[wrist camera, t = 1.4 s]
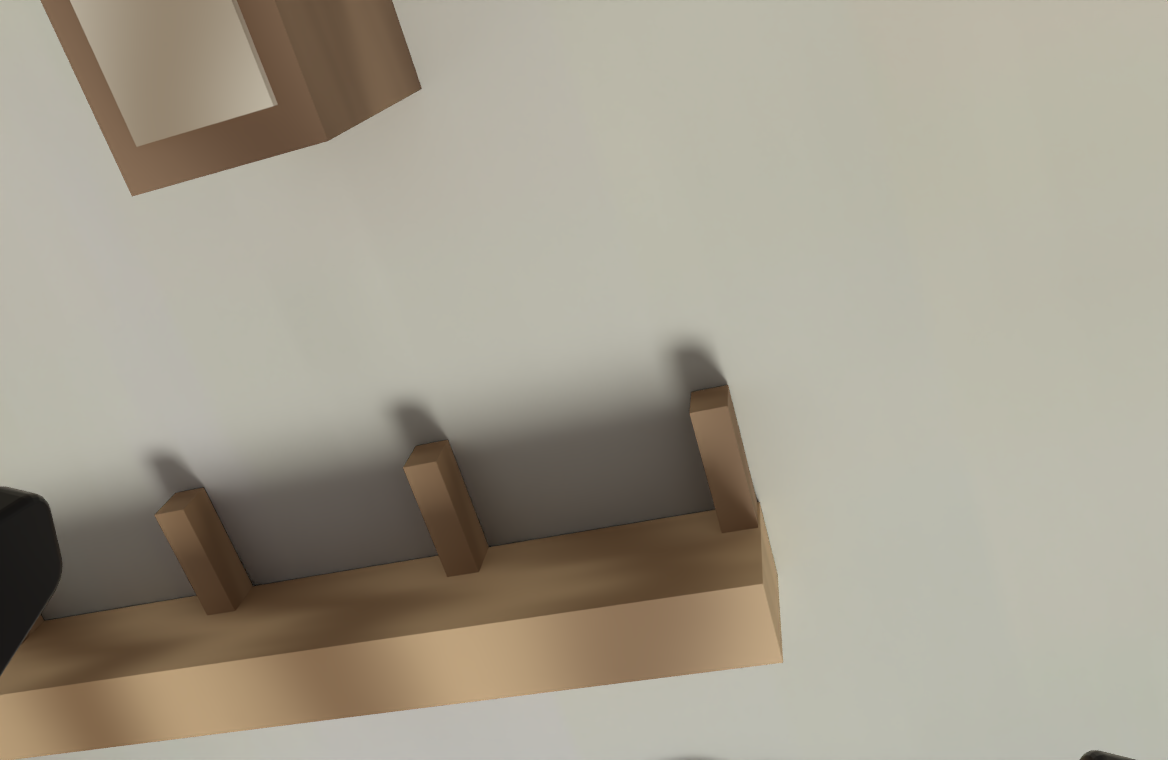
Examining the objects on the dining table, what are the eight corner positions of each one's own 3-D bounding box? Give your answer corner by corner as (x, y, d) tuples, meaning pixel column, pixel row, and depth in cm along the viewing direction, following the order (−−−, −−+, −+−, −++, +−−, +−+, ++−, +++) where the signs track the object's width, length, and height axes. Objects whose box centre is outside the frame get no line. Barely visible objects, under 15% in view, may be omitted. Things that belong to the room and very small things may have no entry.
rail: (53, 681, 28) (-20, 763, 25) (-38, 534, 26) (-127, 606, 23) (777, 574, 23) (782, 662, 20) (730, 384, 21) (729, 453, 18)
